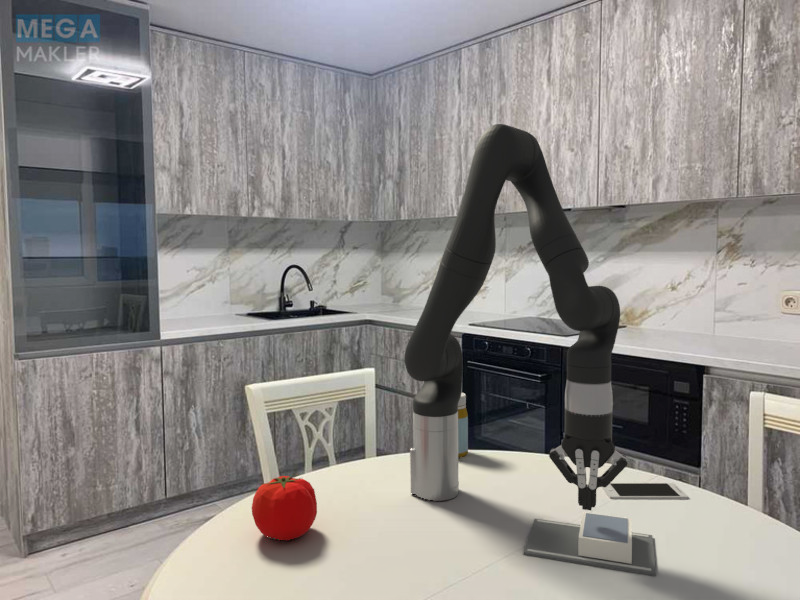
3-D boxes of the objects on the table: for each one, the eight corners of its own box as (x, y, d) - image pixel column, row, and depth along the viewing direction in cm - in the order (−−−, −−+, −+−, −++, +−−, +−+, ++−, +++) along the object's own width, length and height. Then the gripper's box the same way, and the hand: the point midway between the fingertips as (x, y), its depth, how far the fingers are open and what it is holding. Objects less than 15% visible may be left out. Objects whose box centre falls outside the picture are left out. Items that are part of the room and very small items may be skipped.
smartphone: (599, 486, 126) (599, 482, 125) (673, 486, 125) (673, 482, 125) (609, 500, 118) (609, 496, 118) (688, 501, 118) (688, 496, 118)
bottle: (470, 450, 148) (470, 391, 147) (464, 460, 142) (463, 398, 141) (443, 448, 151) (443, 390, 149) (436, 457, 144) (435, 396, 143)
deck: (578, 536, 95) (631, 544, 92) (582, 511, 104) (631, 517, 102) (578, 556, 95) (631, 564, 93) (582, 529, 105) (631, 536, 102)
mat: (523, 554, 97) (523, 551, 97) (534, 520, 109) (534, 518, 109) (655, 576, 90) (655, 572, 90) (652, 537, 102) (652, 534, 102)
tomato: (329, 539, 103) (327, 481, 103) (265, 557, 98) (262, 496, 97) (303, 514, 114) (301, 461, 113) (244, 529, 108) (242, 474, 107)
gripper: (544, 409, 97) (544, 512, 98) (631, 416, 92) (629, 523, 93) (550, 398, 104) (549, 494, 105) (630, 404, 99) (629, 504, 100)
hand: (587, 508), depth 99 cm, fingers closed
